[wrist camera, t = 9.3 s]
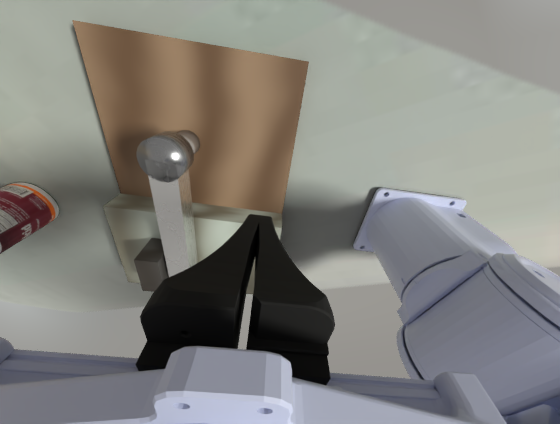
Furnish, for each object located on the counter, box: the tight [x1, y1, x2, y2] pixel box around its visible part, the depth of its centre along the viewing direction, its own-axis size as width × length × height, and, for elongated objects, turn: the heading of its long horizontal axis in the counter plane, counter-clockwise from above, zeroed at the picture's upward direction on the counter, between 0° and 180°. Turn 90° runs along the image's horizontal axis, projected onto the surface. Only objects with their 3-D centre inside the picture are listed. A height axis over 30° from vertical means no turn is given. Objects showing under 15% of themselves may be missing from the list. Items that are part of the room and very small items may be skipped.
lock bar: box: [137, 131, 198, 277], centre depth 18 cm, size 14×3×2 cm, turn 172°
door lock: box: [72, 20, 309, 294], centre depth 19 cm, size 16×23×6 cm
